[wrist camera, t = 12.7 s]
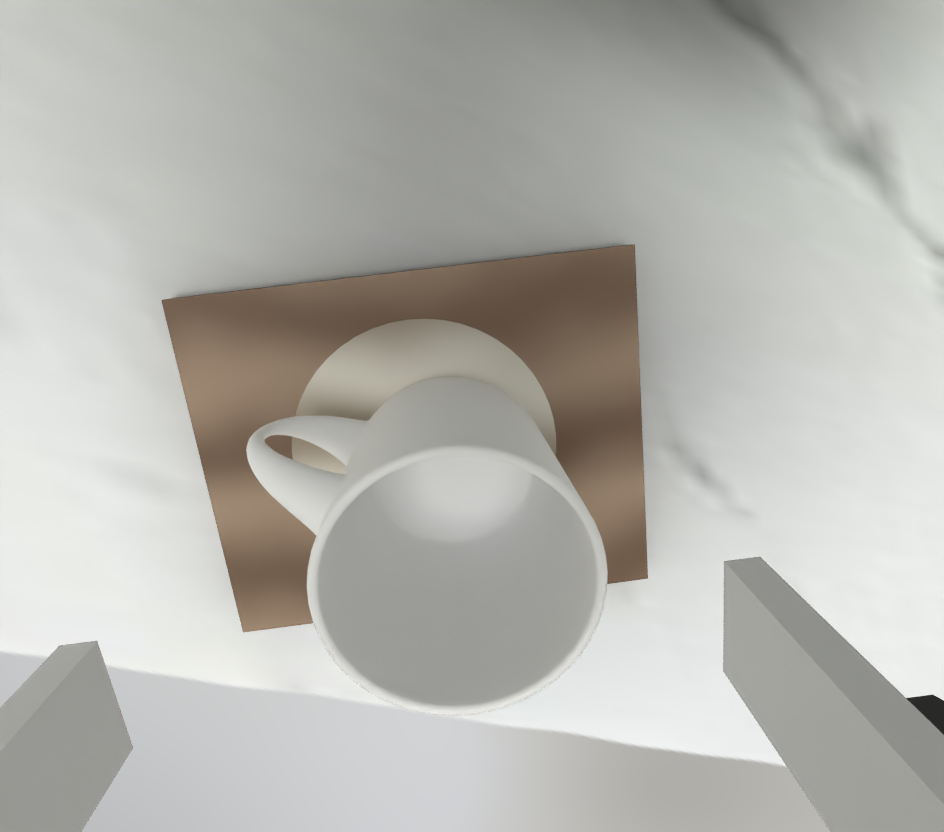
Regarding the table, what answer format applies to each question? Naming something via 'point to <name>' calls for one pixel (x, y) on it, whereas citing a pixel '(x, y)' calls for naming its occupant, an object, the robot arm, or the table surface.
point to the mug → (442, 547)
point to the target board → (401, 365)
